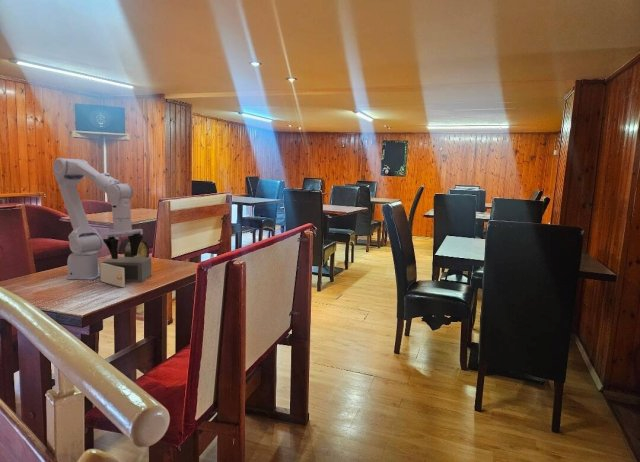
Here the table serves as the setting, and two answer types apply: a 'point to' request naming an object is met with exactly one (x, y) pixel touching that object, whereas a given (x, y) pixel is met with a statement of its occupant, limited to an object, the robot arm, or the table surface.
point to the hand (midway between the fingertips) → (124, 257)
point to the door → (112, 274)
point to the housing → (133, 267)
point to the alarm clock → (142, 250)
